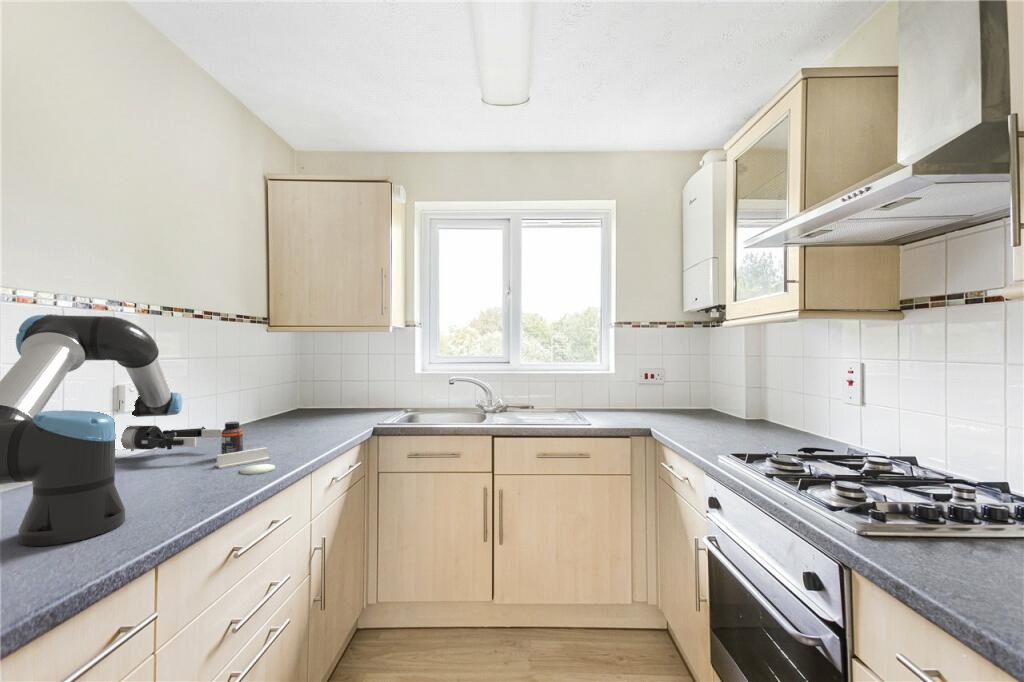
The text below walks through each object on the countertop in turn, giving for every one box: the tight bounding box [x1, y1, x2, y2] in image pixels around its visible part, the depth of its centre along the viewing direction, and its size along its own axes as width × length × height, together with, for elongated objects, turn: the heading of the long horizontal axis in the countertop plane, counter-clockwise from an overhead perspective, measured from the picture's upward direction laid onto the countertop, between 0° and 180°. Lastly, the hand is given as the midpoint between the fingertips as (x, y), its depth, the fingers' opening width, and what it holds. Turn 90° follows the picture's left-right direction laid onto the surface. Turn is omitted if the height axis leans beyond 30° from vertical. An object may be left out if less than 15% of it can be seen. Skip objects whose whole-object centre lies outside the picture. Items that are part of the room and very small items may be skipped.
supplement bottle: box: [220, 421, 244, 455], centre depth 146 cm, size 6×6×11 cm
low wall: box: [214, 447, 271, 470], centre depth 140 cm, size 5×14×4 cm, turn 139°
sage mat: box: [239, 463, 276, 476], centre depth 132 cm, size 9×9×1 cm
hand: (209, 437), depth 146 cm, fingers open, 13 cm apart
